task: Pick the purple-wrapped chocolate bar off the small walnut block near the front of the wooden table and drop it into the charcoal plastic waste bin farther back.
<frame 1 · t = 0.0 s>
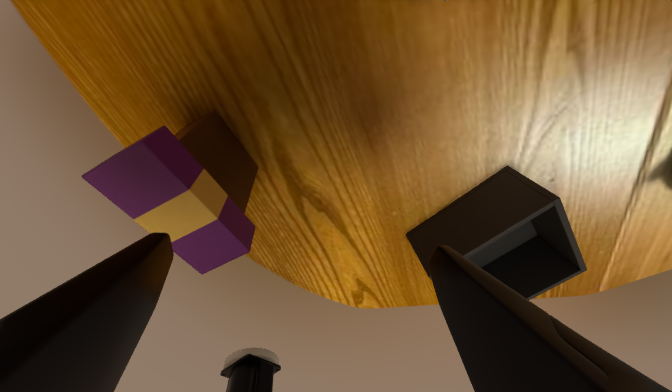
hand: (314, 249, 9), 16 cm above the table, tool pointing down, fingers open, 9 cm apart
block stand: (224, 148, 23), on the table
waste bin: (475, 233, 32), on the table
chocolate bar: (192, 195, 16), point 8 cm above the table, touching block stand
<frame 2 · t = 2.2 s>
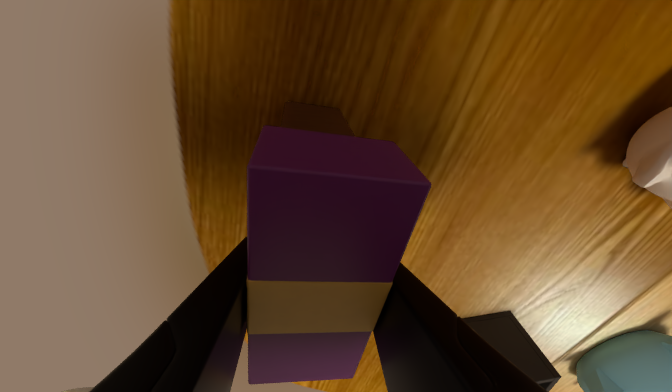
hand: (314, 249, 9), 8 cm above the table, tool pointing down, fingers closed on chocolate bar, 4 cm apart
block stand: (307, 155, 16), on the table
waste bin: (443, 352, 31), on the table
teakettle: (615, 350, 38), on the table
chocolate bar: (313, 244, 9), point 8 cm above the table, touching block stand, gripper
cat figurine: (671, 130, 18), on the table
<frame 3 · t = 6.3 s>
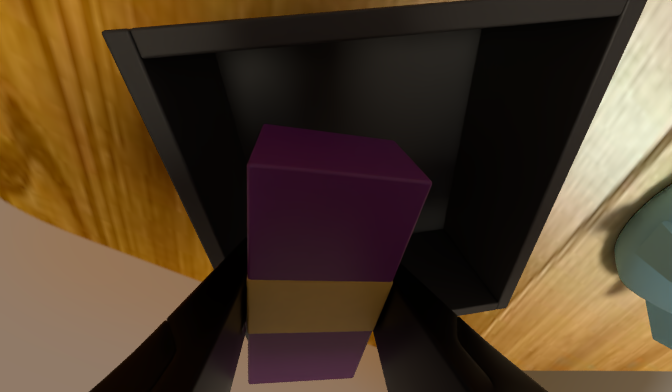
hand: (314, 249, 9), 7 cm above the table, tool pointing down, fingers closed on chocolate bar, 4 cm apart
waste bin: (355, 157, 15), on the table
chocolate bar: (313, 244, 9), point 7 cm above the table, touching gripper
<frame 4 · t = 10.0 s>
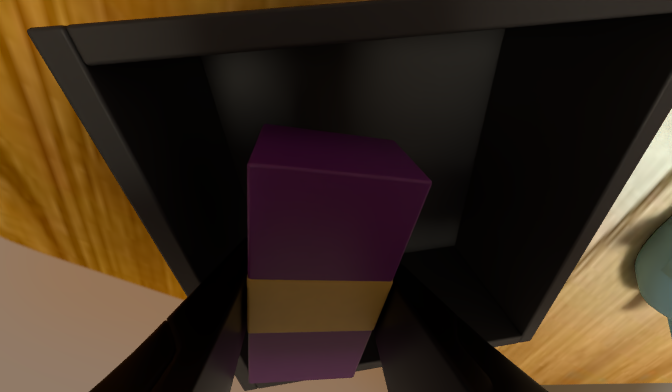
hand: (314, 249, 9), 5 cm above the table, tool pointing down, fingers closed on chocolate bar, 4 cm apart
waste bin: (359, 170, 13), on the table
chocolate bar: (313, 243, 9), point 5 cm above the table, touching gripper
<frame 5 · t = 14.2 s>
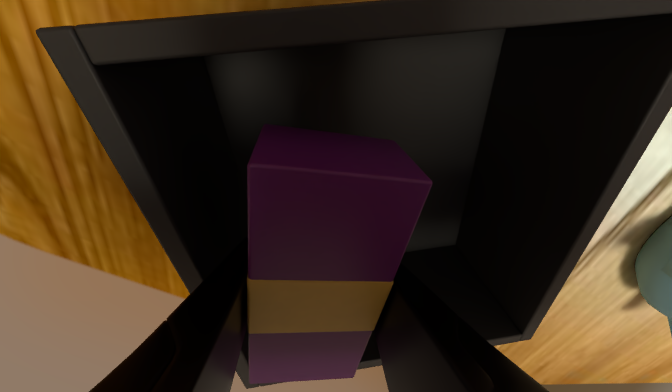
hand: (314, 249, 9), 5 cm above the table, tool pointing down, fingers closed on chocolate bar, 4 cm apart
waste bin: (361, 170, 14), on the table
chocolate bar: (314, 244, 9), point 5 cm above the table, touching gripper
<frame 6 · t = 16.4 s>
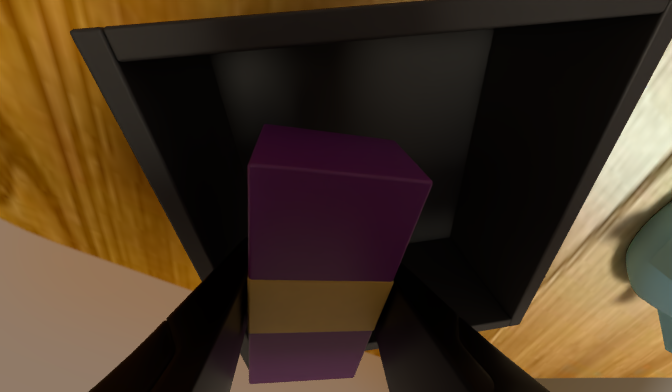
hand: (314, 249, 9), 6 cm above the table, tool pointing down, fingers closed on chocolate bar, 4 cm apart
waste bin: (358, 164, 14), on the table
chocolate bar: (314, 244, 9), point 6 cm above the table, touching gripper
when the fingers open (8 cm above the table, at t = 18.1 s): chocolate bar drops 7 cm, resting on waste bin.
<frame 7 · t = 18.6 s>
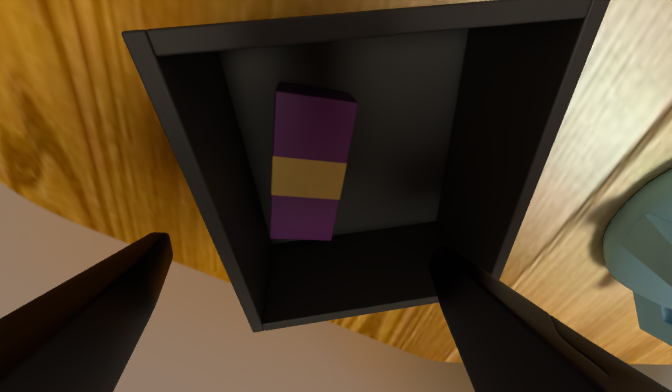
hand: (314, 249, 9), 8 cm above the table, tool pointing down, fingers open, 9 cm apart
waste bin: (351, 151, 16), on the table
teakettle: (669, 209, 22), on the table
chocolate bar: (307, 159, 15), point 1 cm above the table, touching waste bin
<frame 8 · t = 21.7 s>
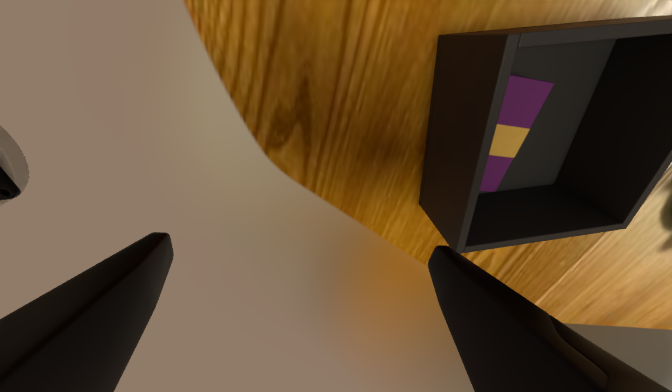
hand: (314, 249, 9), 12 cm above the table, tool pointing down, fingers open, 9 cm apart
waste bin: (506, 125, 20), on the table
chocolate bar: (478, 129, 20), point 1 cm above the table, touching waste bin
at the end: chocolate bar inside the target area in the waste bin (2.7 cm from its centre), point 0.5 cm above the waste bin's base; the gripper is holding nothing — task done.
